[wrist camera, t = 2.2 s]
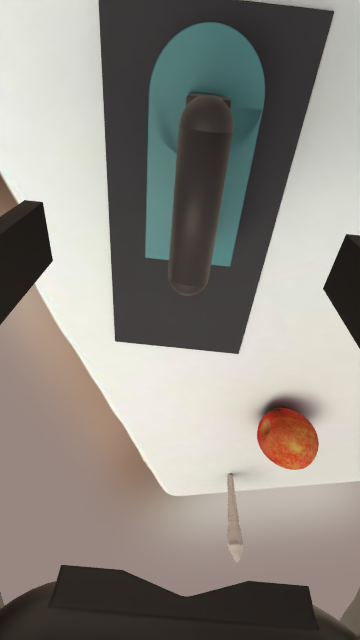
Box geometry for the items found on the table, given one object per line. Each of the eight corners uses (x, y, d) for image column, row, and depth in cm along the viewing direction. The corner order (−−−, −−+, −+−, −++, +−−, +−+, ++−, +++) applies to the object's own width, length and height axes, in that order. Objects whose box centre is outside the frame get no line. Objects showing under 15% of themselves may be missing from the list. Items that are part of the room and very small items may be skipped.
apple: (276, 435, 52) (286, 485, 46) (242, 412, 49) (248, 462, 42) (318, 415, 48) (336, 465, 42) (285, 389, 45) (299, 439, 39)
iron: (229, 242, 31) (244, 328, 21) (149, 234, 31) (122, 315, 20) (270, 33, 22) (338, -12, 11) (156, 20, 22) (111, -38, 11)
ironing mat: (99, -15, 21) (97, -17, 21) (332, 12, 22) (334, 11, 21) (115, 338, 41) (115, 341, 40) (238, 351, 41) (238, 354, 41)
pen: (233, 470, 59) (241, 559, 48) (239, 476, 61) (247, 565, 50) (221, 473, 60) (226, 561, 49) (227, 479, 62) (233, 567, 51)
